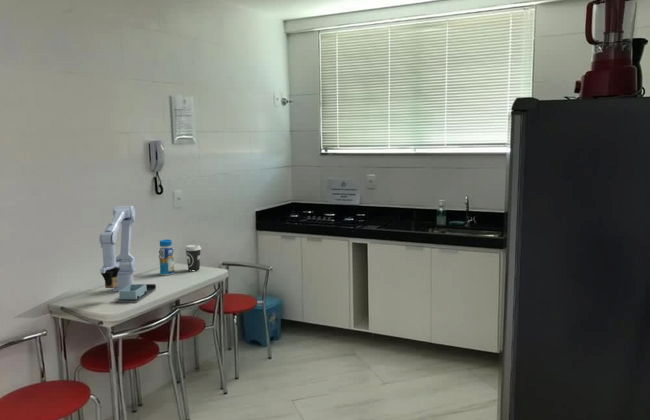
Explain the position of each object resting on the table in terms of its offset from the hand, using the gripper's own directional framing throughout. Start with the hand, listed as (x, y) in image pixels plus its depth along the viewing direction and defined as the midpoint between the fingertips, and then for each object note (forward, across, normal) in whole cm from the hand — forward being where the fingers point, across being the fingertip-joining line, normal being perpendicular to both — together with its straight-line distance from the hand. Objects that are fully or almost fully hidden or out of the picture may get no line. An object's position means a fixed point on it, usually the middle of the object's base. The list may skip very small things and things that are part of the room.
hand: (111, 284), depth 251 cm
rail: (+8, +8, -9) cm, 15 cm away
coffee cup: (+9, +62, -19) cm, 65 cm away
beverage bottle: (+9, +52, -6) cm, 53 cm away
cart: (+7, +4, -9) cm, 12 cm away
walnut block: (+2, 0, 0) cm, 2 cm away
